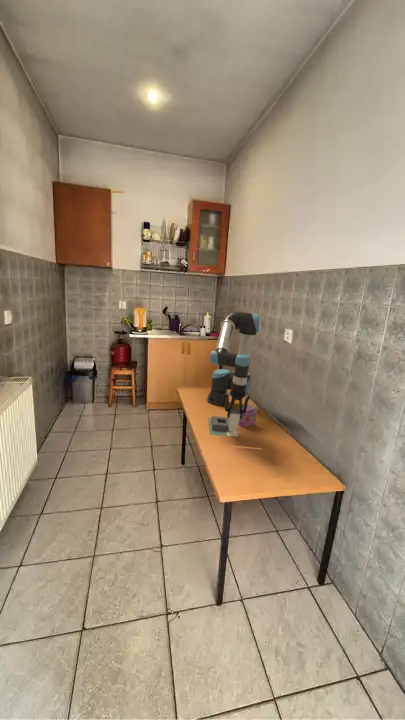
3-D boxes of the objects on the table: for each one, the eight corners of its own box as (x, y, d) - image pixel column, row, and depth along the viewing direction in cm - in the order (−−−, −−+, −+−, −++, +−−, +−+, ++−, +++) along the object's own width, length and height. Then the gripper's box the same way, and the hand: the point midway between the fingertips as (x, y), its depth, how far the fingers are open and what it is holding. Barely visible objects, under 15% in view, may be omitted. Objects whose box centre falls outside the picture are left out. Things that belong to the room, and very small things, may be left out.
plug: (228, 427, 167) (231, 407, 165) (235, 428, 168) (238, 408, 165) (229, 431, 164) (232, 410, 161) (236, 431, 164) (239, 411, 161)
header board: (208, 418, 183) (208, 412, 182) (233, 421, 184) (234, 414, 183) (209, 435, 162) (210, 428, 161) (238, 438, 163) (239, 431, 162)
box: (244, 429, 175) (246, 410, 172) (236, 425, 179) (239, 407, 176) (255, 425, 182) (258, 407, 179) (248, 421, 186) (250, 404, 183)
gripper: (224, 384, 155) (218, 424, 161) (256, 387, 156) (249, 427, 161) (222, 379, 162) (217, 418, 168) (253, 382, 163) (247, 421, 169)
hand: (233, 423), depth 165 cm, fingers closed on plug, 4 cm apart
